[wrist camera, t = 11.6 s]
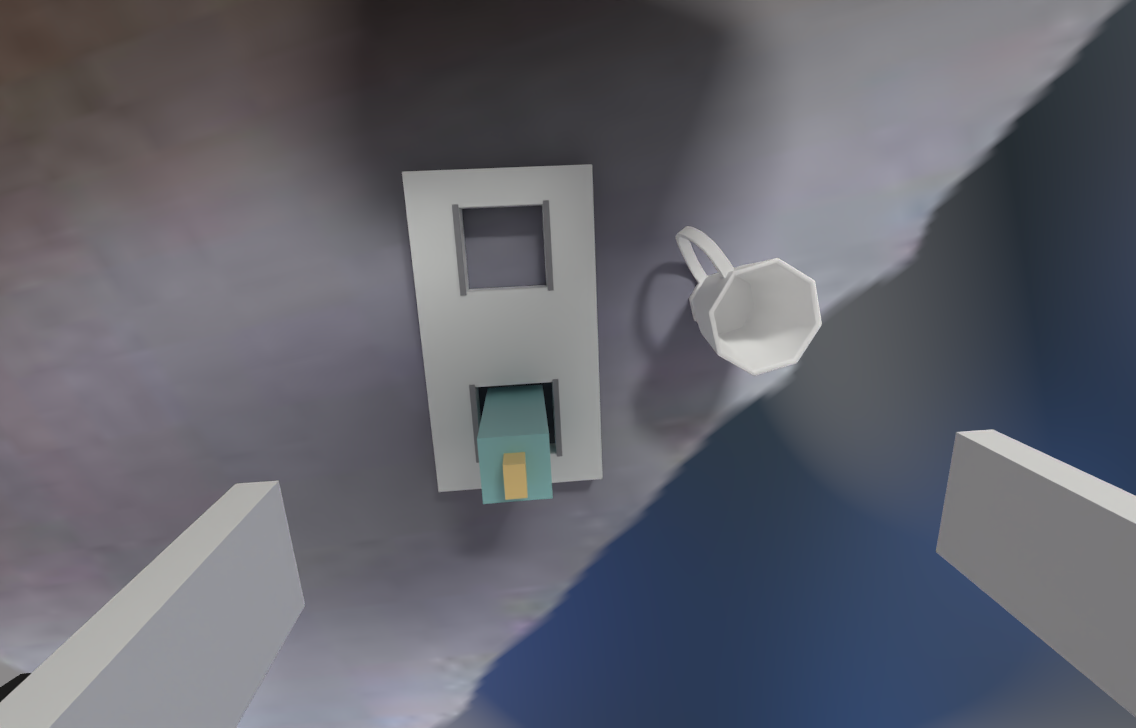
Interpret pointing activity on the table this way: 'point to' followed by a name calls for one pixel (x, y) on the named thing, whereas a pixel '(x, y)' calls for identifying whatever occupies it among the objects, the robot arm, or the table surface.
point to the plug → (514, 445)
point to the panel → (507, 314)
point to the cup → (751, 307)
